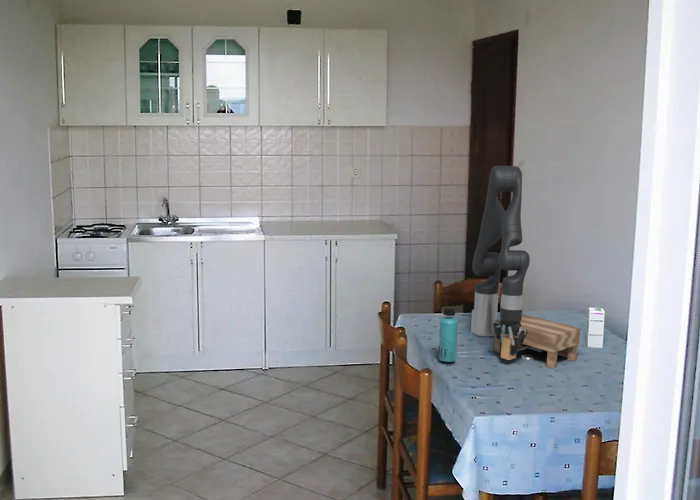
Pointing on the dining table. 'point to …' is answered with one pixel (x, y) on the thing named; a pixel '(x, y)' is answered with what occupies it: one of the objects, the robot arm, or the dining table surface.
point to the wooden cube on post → (507, 348)
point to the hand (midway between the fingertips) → (508, 353)
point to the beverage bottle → (448, 336)
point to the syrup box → (595, 327)
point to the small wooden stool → (548, 338)
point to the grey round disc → (527, 357)
